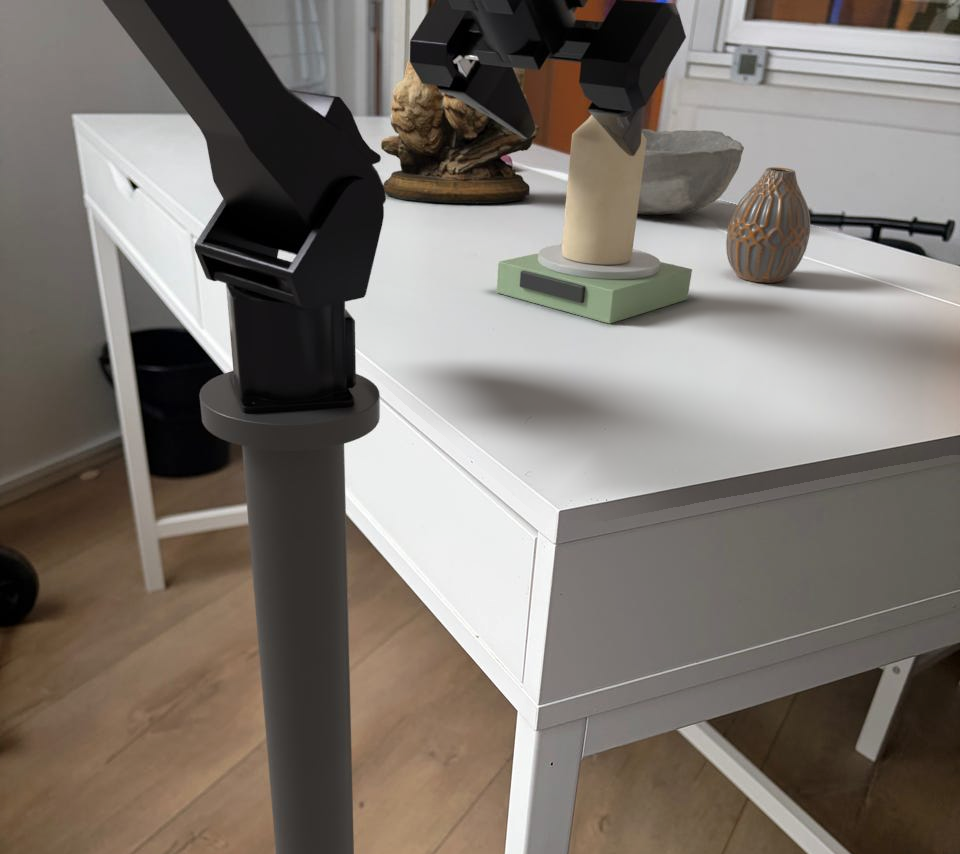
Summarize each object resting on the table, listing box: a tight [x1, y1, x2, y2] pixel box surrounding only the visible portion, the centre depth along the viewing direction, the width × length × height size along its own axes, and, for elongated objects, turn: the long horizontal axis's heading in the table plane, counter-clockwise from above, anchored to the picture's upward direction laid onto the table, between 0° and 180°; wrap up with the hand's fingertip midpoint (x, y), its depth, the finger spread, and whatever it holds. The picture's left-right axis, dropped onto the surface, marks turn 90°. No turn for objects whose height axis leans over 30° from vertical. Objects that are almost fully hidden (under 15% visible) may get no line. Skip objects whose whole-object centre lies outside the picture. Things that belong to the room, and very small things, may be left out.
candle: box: [561, 114, 647, 265], centre depth 76 cm, size 6×6×10 cm
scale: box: [496, 243, 693, 325], centre depth 79 cm, size 11×11×3 cm
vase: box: [725, 166, 811, 284], centre depth 86 cm, size 7×7×9 cm
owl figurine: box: [380, 58, 541, 204], centre depth 111 cm, size 18×12×17 cm, turn 105°
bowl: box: [637, 128, 745, 216], centre depth 110 cm, size 18×18×8 cm
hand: (581, 141), depth 72 cm, fingers open, 9 cm apart
